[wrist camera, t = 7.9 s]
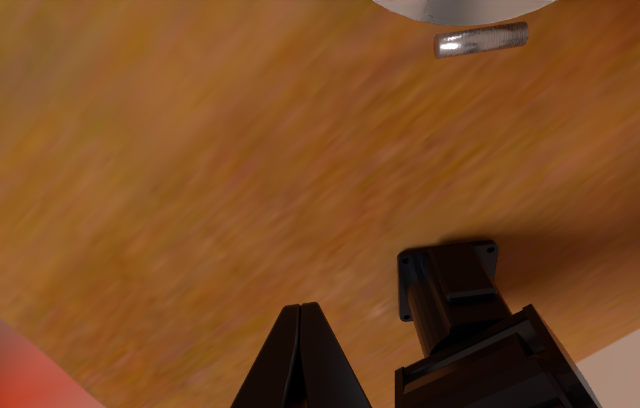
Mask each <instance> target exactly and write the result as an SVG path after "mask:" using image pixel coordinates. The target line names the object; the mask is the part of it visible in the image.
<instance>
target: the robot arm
mask: <svg viewBox="0 0 640 408" xmlns="http://www.w3.org/2000/svg"><path fill="white" fill-rule="evenodd" d="M489 247H491V248H490V249H488V248H489ZM497 255H498V246H497V244H496V243H495V242H494V241H492V240H487V241H479V242H472V243H464V244H456V245H449V246H441V247H433V248H426V249H418V250H410V251H404V252H401V253H399V254H398V256H397V273H398V302H399V316H400V319H401V320H402V321H404V322H409V321H414V325H415V328H416V331H417V335H418V338H419V341H420V344H421V348H422V351H423V354H424V358H423V359H421V360H419V361H417V362H415V363H413V364H411V365H409V366H407V367H405V368H404V367H401V368H399V369H397V370H395V408H602V406H601V405H600V403H599V401H598V400H597V398H596V396H595V394H594V393H593V391H592V389H591V388H590V386H589V384H588V382H587V381H586V380H585V378H584V376H583V375H582V373H581V372H580V370H579V369H578V367H577V366H576V364H575V363H574V361H573V360H572V359H571V357H570V356H569V354H568V353H567V351H566V350H565V348H564V347H563V345H562V344H561V342H560V341H559V340H558V338H557V337H556V336H555V334H554V333H553V332H552V330H551V329H550V328H549V326H548V325H547V324H546V322H545V321H544V320H543V318H542V317H541V316H540V314H539V313H538V312H537V310H536V309H535V308H534V306H533V305H532V304H530V305H528V306H526V307H524V308H522V309H523V310H522V311H520V312H517V313H515V314H512V313H511V311H510V309H509V307H508V306H507V304H506V302H505V301H504V299H503V297H502V295H501V294H500V292H499V290H498V288H497V287H496V285H495V283H494V282H493V281H494V275H495V268H496V262H497ZM405 258H407V259H406V260H403V259H405ZM230 408H372V406H371V405H370V403H369V401H368V399H367V397H366V395H365V393H364V391H363V389H362V387H361V385H360V383H359V381H358V379H357V377H356V375H355V374H354V372H353V370H352V368H351V366H350V364H349V362H348V360H347V358H346V356H345V354H344V352H343V350H342V348H341V346H340V344H339V343H338V341H337V339H336V337H335V335H334V333H333V331H332V329H331V327H330V325H329V323H328V321H327V319H326V317H325V315H324V313H323V312H322V310H321V308H320V306H319V304H318V303H317V302H310V303H303V304H302V305H299V304H294V305H287V306H284V307H283V309H282V310H281V312H280V314H279V316H278V318H277V320H276V322H275V324H274V326H273V328H272V329H271V331H270V333H269V335H268V337H267V339H266V341H265V343H264V345H263V346H262V348H261V350H260V352H259V354H258V356H257V358H256V360H255V362H254V363H253V365H252V367H251V369H250V371H249V373H248V375H247V377H246V379H245V381H244V382H243V384H242V386H241V388H240V390H239V392H238V394H237V396H236V398H235V399H234V401H233V403H232V405H231V407H230Z"/></svg>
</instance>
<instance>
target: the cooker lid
mask: <svg viewBox="0 0 640 408" xmlns="http://www.w3.org/2000/svg"><path fill="white" fill-rule="evenodd" d="M372 1H374V2H376V3H378V4H379V5H381V6H383V7H385V8H386V9H388V10H390V11H392V12H395V13H397V14H400V15H403V16H405V17H408V18H411V19H413V20H418V21H422V22H427V23H432V24H436V25H449V26H471V25H483V24H490V23H495V22H499V21H504V20H508V19H513V18H515V17H518V16H521V15H524V14H527V13H529V12H532V11H535V10H538V9H540V8H542V7H544V6H546V5H548V4H550V3H552V2H554V1H556V0H372ZM528 33H529V31H528V25H527V23H526V22H524V21H523V22H517V23H510V24H504V25H497V26H491V27H484V28H477V29H471V30H464V31H458V32H451V33H444V34H438V35H436V36H435V38H434V53H435V57H436V58H437V59H440V58H446V57H453V56H460V55H466V54H473V53H480V52H486V51H493V50H500V49H506V48H513V47H520V46H524V45H525V44H526V42H527V39H528Z"/></svg>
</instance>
